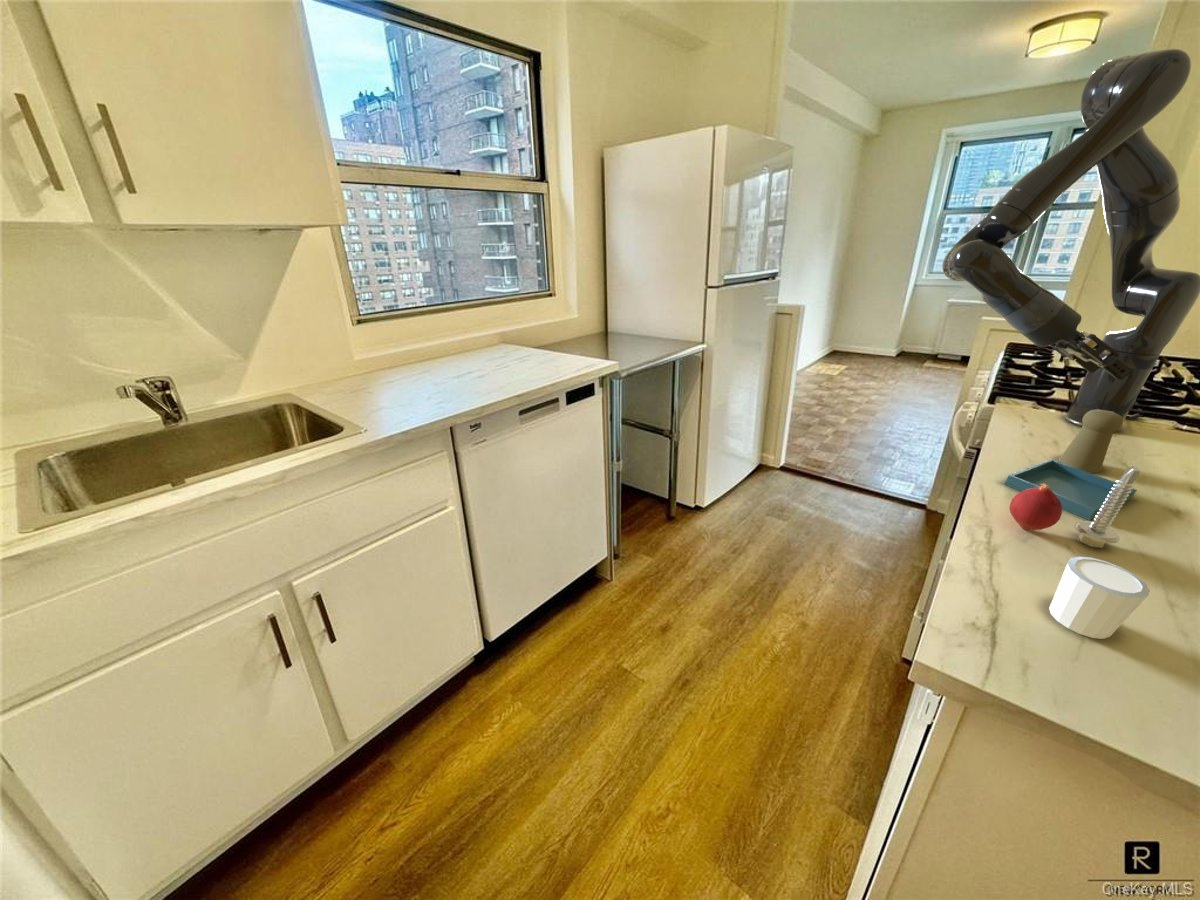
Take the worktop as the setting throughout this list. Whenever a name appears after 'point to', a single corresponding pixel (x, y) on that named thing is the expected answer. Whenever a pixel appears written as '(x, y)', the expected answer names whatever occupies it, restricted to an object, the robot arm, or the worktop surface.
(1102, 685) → the worktop surface
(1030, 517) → the onion
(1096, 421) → the cork
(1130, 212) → the robot arm
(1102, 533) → the screw
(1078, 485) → the tray
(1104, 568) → the white faceted cylinder
